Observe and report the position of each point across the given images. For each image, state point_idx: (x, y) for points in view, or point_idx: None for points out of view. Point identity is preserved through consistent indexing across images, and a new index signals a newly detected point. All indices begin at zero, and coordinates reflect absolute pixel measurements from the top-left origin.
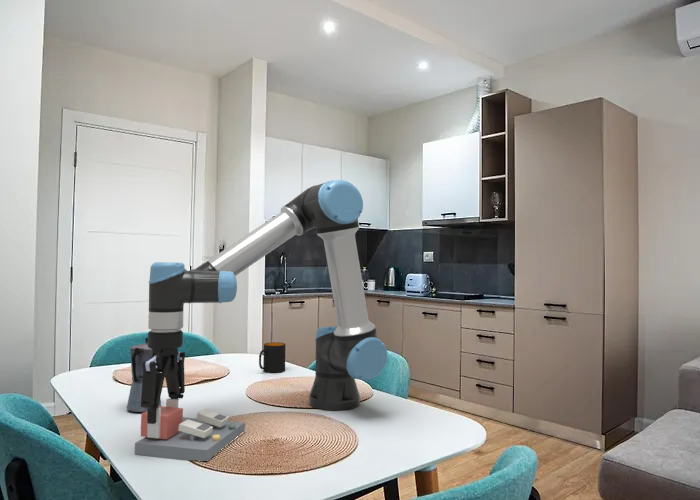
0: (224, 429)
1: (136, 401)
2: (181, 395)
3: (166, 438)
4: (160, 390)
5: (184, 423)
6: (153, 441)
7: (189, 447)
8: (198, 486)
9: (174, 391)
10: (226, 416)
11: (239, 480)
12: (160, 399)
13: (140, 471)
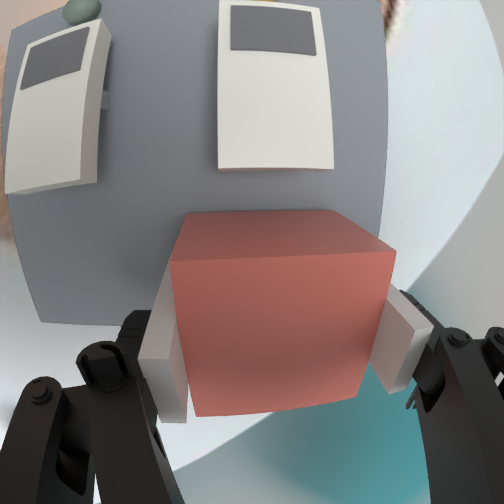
0: None
1: None
2: (97, 368)
3: (335, 211)
4: (495, 427)
5: (301, 146)
6: None
7: (378, 70)
8: (470, 23)
9: (155, 444)
10: (31, 47)
11: None
12: (10, 421)
13: (448, 192)
